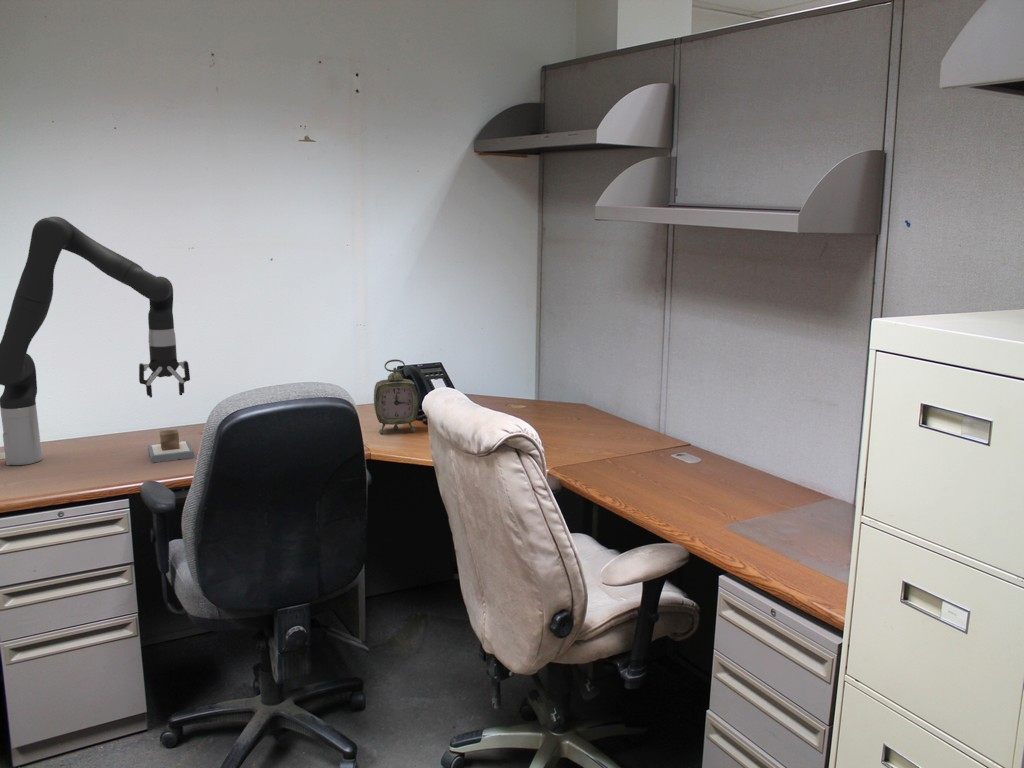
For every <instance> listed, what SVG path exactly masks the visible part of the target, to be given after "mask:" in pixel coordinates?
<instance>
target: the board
mask: <svg viewBox="0 0 1024 768" xmlns="http://www.w3.org/2000/svg"><path fill="white" fill-rule="evenodd" d="M179 447H180V449H173V450H165V451H162V449H161V443H157V444H148V445H147V451H148V456H149V455H150V456H149V458H150V462H156V463H161V462H160V461H164V462H170V461H169V460H172V461H178V459H181V460H188V459H195V454H194V449H193V448H192V445H191V443H190V441H189V440H182V441H179ZM167 460H168V461H167Z"/></svg>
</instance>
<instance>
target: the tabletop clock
mask: <svg viewBox="0 0 1024 768" xmlns="http://www.w3.org/2000/svg"><path fill="white" fill-rule="evenodd" d="M393 362H394V363H395V362H399V363H401V364H403V367H402V368H400V369H397V367H393V369H388V368H387V365H388V364H389V363H393ZM405 368H406V364H405V362H404V361H403V360H402V359H389V360H388V361H386V362H385V363H384V369H385V370H386V371H387V372H389V375H388V376H387V379H381V380H379V381H377V382H375V385H374V388H373V407H374V411H375V416H376V418H377V421H378V422H379V423H380V424H382V426H381V429H379V431H378V433H379V434H381V435H382V434H384V433H385V430H384V428H385V426H386V425H390V426H391V425H393V430H395V431H396V430H399V429H398V428H399V426H398V425H405V424H408V425H409V427H410V432H412V433H415V431H416V427H414V426H413V425H412V423H414V422H415V421H416V420H417V418H418V414H419V394H418V389H417V386H416V385H415V383H414V382H413V380H412V379H409V378H408V379H407V378H403V376H402V374H401V373H399V372H401V371H403V370H405Z"/></svg>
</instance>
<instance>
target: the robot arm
mask: <svg viewBox="0 0 1024 768" xmlns="http://www.w3.org/2000/svg"><path fill="white" fill-rule="evenodd" d="M62 250H64V251H67V252H70V253H72V254H75V255H77V256H79V257H81V258H82V259H84V260H85V261H88V262H89V263H90V264H92V266H95V268H97V269H98V270H99V271H101V272H102V273H104V274H106V275H107V276H108V277H109V278H112V279H113V280H116V281H118V282H119V283H121V284H124V285H125V286H128V287H130V288H131V289H132V290H134V291H136V292H137V293H138V294H140V295H141V296H143V297H145V298H147V299H148V300H149V310H148V314H147V315H148V316H147V318H148V319H147V320H148V349H149V363H143V362H140V363H139V365H138V382H139V383H140V385H144V386H145V387H146V395H147V397H148V396H149V398H150V399H151V398H153V391H152V389H153V387H152V383H153V382H154V381H155V380H156V378H157V377H159V378H164V377H165V378H167V377H168V378H170V377H172V376H174V378H175V379H176V380H177V381H178V394H179V396H183V394H185V383H186V382H190V381H191V373H190V365H189V362H188V361H187V360H183V361H179V362H178V357H177V341H176V340H177V338H176V332H175V325H174V324H175V323H174V314H173V306H174V288H173V284H172V282H171V280H169V279H168V278H167V277H164V276H160V275H159V276H156V275H154V274H152V273H151V272H149V271H147V270H145V269H144V268H143V267H142V266H141V265H139V264H138V263H137V262H135V261H132V260H131V259H129V258H126V257H125V256H124V255H121V254H120V253H117V252H116V251H114V250H112V249H110V248H108V247H106V246H105V245H103V244H101V243H100V242H98V241H96V240H94V239H93V238H91V237H89V236H88V235H87V234H85V233H84V232H83V231H81V230H80V229H79V228H77V227H76V226H75V225H73V224H72V223H70V222H69V221H68V220H67V219H65V218H63V217H60V216H48V217H44V218H41V219H39V220H38V221H36V223H35V224H34V225H33V228H32V231H31V236H30V243H29V248H28V255H27V259H26V262H25V264H24V265H25V266H24V268H23V270H22V273H21V276H20V278H19V280H18V281H19V282H18V285H17V287H16V290H15V293H14V297H13V300H12V303H11V308H10V311H9V314H8V318H7V321H6V323H5V324H6V325H5V328H4V331H3V336H2V338H1V340H0V386H4V387H3V388H4V389H3V392H2V394H1V396H0V416H1V424H2V439H3V448H4V456H5V465H6V466H22V465H23V466H24V465H31V464H34V463H37V462H40V461H42V460H43V451H42V445H41V435H40V428H39V421H38V420H39V418H38V411H37V402H36V397H37V394H38V382H37V369H36V364H35V362H34V359H33V357H32V356H31V355H30V354H28V353H27V352H28V349H29V347H30V344H31V342H32V340H33V338H34V337H35V336H36V334H37V332H38V331H39V330H40V328H41V326H42V325H43V324H44V322H45V320H46V318H47V316H48V313H49V310H50V306H51V304H52V300H53V294H54V274H55V269H56V265H57V262H58V260H59V257H60V254H61V252H62ZM179 367H181V369H183V371H184V377H182V375H180V374H179V373H178V371H177V370H178V368H179ZM148 369H150V370H151V373H150V375H149V376H148V378H147V379H145V372H146V371H147V370H148Z"/></svg>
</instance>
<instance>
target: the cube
mask: <svg viewBox="0 0 1024 768" xmlns="http://www.w3.org/2000/svg"><path fill="white" fill-rule="evenodd" d="M179 434H180V433H179V431H178V429H167V430H160V431H159V441H160V444H161V449H162V451H165V450H173V449H180V447H179V442H180V438H179V437H180V435H179Z"/></svg>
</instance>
